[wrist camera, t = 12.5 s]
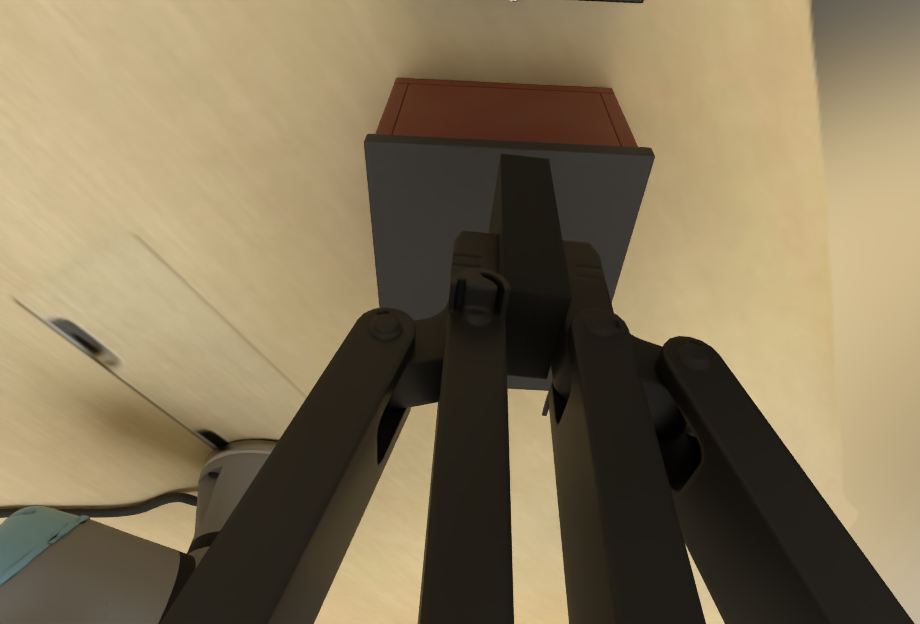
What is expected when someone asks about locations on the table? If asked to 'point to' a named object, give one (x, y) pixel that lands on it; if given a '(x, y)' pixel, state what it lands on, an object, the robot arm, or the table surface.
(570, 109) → the reddish brown box
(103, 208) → the table surface
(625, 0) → the console
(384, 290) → the lid
